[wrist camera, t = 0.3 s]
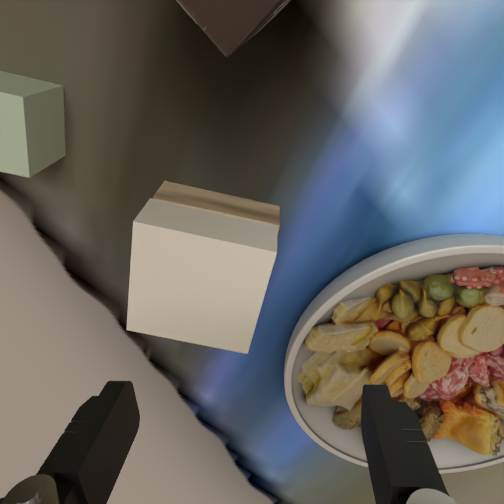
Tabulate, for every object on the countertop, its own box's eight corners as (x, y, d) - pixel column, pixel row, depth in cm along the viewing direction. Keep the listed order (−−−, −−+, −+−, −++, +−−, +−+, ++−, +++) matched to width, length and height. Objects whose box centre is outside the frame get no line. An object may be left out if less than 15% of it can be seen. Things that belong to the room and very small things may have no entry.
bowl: (358, 460, 52) (370, 526, 45) (228, 307, 40) (218, 366, 33) (613, 382, 42) (677, 451, 35) (542, 150, 30) (620, 187, 23)
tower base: (165, 179, 33) (152, 197, 30) (279, 204, 34) (280, 225, 30) (155, 274, 38) (143, 298, 35) (255, 294, 39) (252, 321, 35)
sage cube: (-10, 68, 29) (-67, 76, 24) (63, 85, 29) (22, 97, 25) (-2, 140, 32) (-51, 160, 27) (66, 155, 32) (29, 178, 27)
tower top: (149, 198, 30) (133, 221, 26) (277, 226, 30) (277, 252, 27) (141, 299, 35) (126, 329, 31) (250, 321, 35) (247, 354, 32)
